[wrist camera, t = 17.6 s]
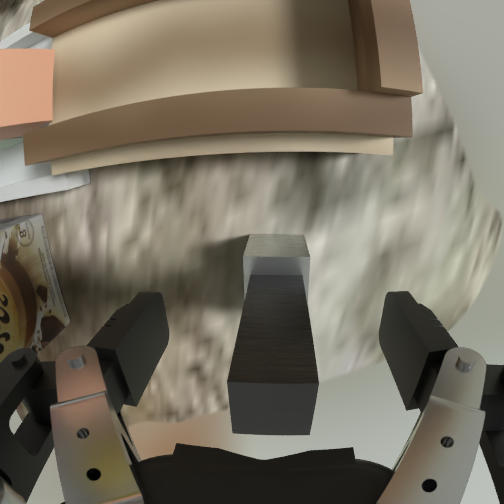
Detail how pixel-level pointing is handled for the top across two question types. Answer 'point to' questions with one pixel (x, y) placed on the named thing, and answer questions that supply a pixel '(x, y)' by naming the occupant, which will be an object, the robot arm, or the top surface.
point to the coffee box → (28, 287)
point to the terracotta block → (25, 90)
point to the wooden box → (223, 78)
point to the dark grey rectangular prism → (274, 341)
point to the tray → (12, 159)
